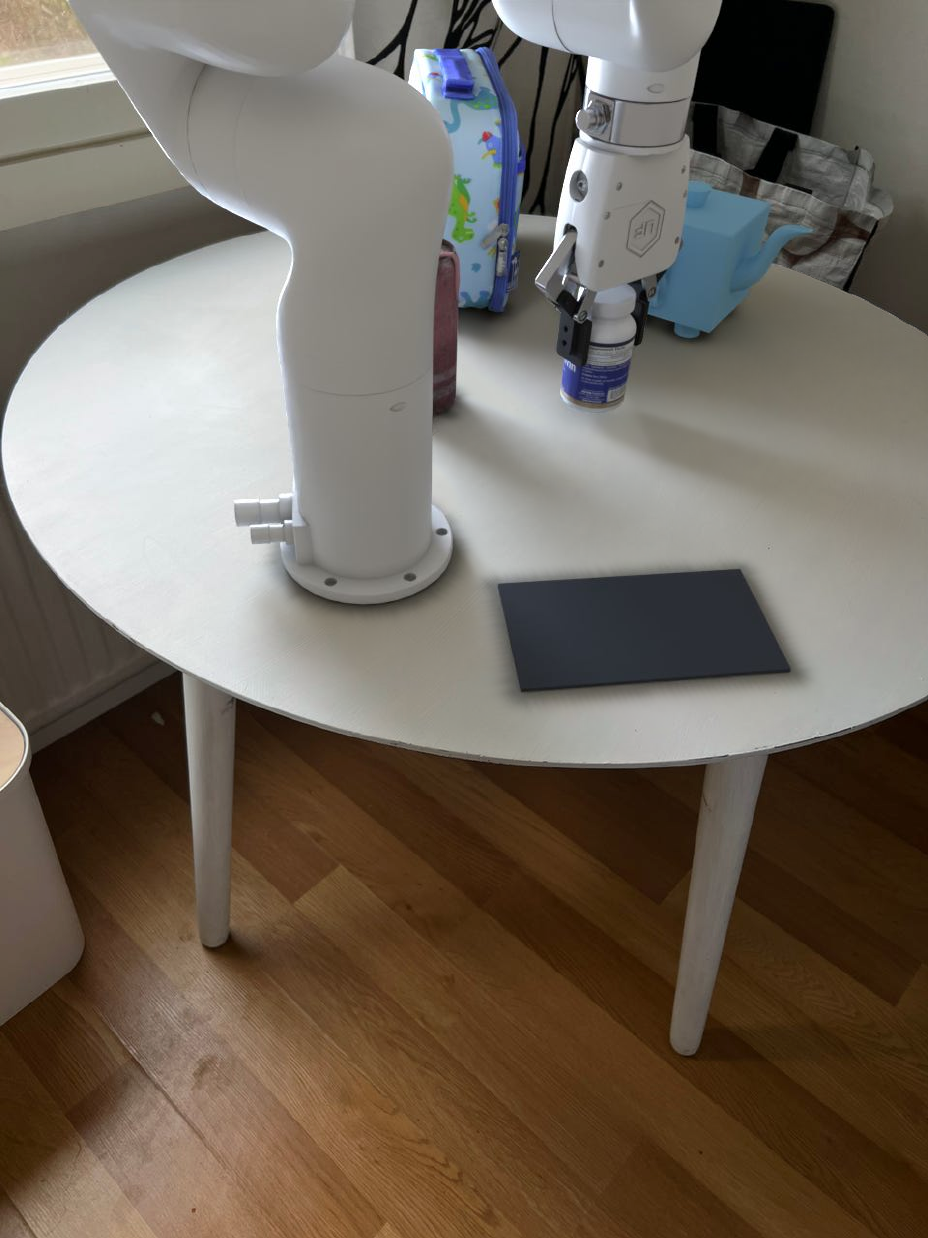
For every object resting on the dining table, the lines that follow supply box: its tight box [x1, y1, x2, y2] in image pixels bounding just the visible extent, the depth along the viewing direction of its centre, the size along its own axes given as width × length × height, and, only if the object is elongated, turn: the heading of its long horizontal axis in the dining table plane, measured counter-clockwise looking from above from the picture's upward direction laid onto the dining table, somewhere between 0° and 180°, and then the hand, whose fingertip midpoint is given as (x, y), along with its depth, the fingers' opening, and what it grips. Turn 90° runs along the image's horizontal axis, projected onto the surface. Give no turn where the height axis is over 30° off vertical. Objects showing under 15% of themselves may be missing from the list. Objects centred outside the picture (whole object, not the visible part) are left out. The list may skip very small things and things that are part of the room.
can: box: [433, 239, 460, 418], centre depth 78 cm, size 6×6×14 cm
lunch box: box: [408, 46, 527, 313], centre depth 94 cm, size 26×11×21 cm, turn 6°
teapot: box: [647, 179, 814, 339], centre depth 91 cm, size 18×16×13 cm
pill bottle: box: [559, 284, 636, 414], centre depth 78 cm, size 6×6×10 cm
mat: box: [497, 568, 792, 693], centre depth 63 cm, size 18×10×1 cm, turn 97°
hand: (599, 347), depth 78 cm, fingers closed on pill bottle, 5 cm apart
